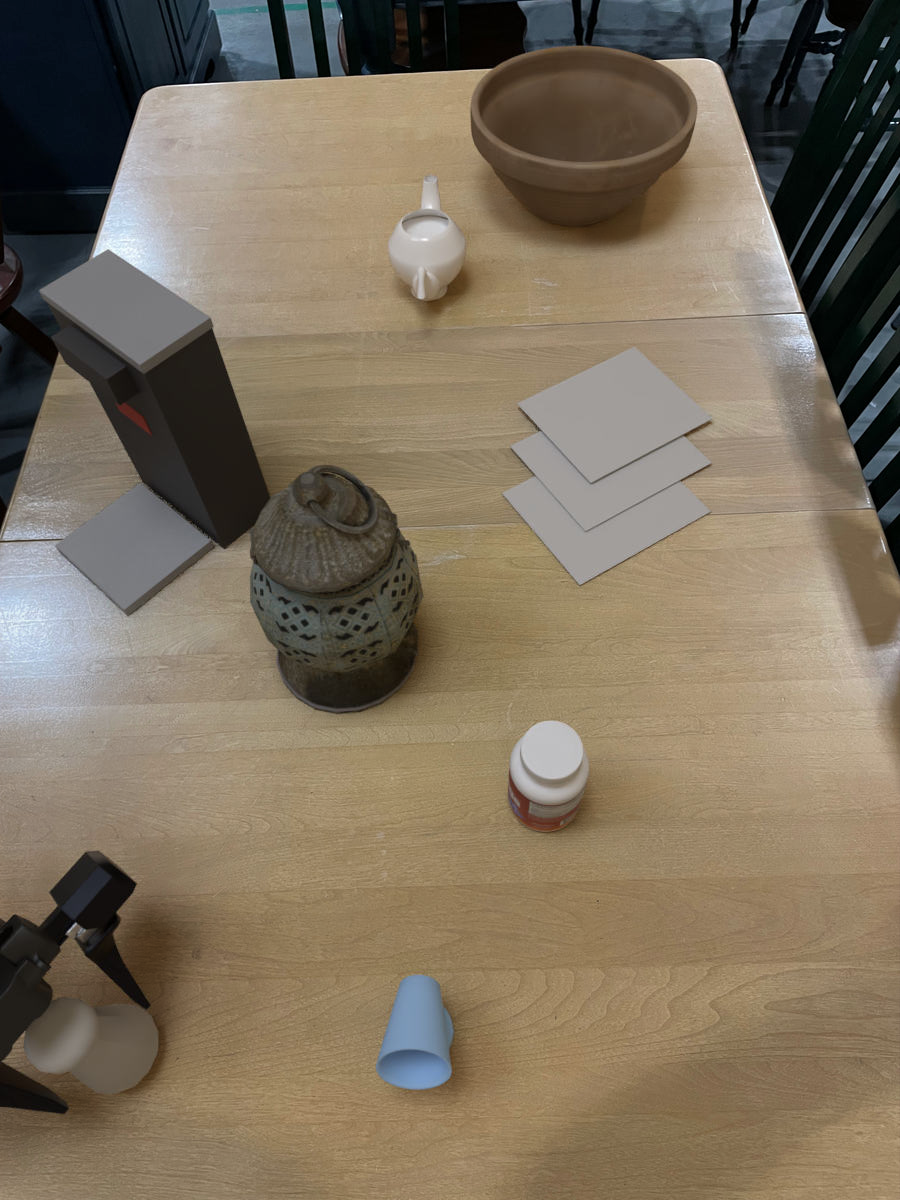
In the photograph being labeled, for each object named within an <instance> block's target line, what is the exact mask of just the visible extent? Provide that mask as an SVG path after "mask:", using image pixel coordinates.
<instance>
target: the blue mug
mask: <svg viewBox="0 0 900 1200" xmlns="http://www.w3.org/2000/svg"><path fill="white" fill-rule="evenodd" d="M384 1032H385V1034H384V1035H383V1039H382V1043H381V1046H380V1049H379V1052H378V1053H379V1054H378V1057H377V1060H376V1064H375V1071H376V1073H377V1075H378V1076H379V1077H380V1079H382V1080H383V1081H384V1082H385V1083H387V1084H389V1085H392V1086H394V1087H396V1088H401V1089H405V1090H412V1091H413V1090H414V1091H416V1090H417V1091H420V1090H430V1089H434V1088H437V1087H440V1086H442V1085H443V1084H445V1083H446V1082H448V1080H449V1079H450V1078H451V1076H452V1072H453V1070H452V1061H451V1056H450V1055H451V1054H450V1049H451V1047H452V1044H453V1040H454V1035H455V1029H454V1024H453V1020H452V1017H451V1015H450V1013H449V1011H448V1010H447V1008H446V1006H444V1004H443V997H442V991H441V985H440V983H439V981H438V980H437V979H435V978H434V977H432V976H428V975H425V974H411V975H408V976H406V977H404V978H403V979H401V980H400V982H399V985H398V988H397V991H396V995H395V998H394V1002H393V1006H392V1008H391V1012H390V1015H389V1019H388V1022H387V1026H386V1029H385V1031H384Z"/></svg>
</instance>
